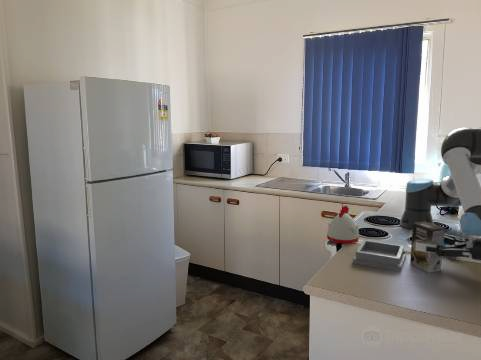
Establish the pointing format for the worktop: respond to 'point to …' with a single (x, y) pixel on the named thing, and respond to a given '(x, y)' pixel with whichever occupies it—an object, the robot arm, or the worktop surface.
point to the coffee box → (426, 235)
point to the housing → (380, 255)
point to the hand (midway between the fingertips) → (417, 240)
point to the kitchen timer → (343, 228)
